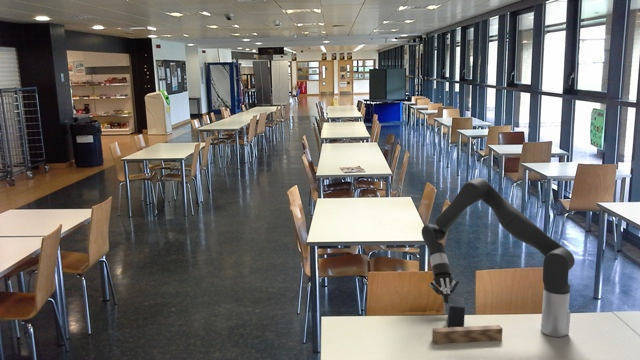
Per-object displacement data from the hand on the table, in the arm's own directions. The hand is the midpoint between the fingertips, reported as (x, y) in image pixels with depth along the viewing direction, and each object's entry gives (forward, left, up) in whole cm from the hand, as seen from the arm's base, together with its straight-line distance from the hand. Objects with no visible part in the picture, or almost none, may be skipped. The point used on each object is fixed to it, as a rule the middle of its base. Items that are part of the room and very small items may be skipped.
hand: (448, 303), depth 229 cm
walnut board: (0, +23, -5) cm, 24 cm away
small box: (0, +10, -5) cm, 11 cm away
